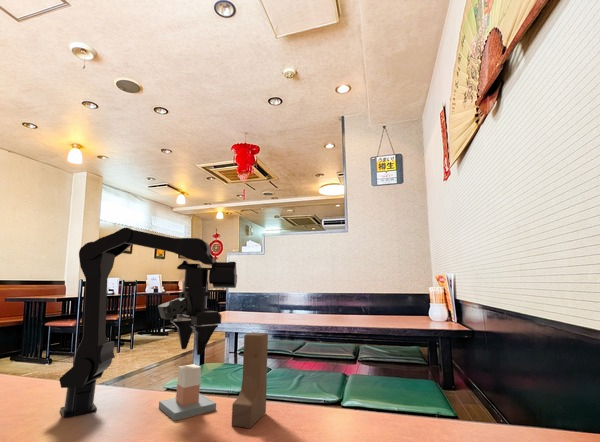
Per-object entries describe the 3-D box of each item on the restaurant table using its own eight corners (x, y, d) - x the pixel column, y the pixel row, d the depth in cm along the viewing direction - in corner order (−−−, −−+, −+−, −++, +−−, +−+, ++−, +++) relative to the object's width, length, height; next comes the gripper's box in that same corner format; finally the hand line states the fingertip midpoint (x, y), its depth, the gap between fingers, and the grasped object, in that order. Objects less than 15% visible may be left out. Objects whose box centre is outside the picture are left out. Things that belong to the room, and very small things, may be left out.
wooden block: (250, 429, 68) (253, 338, 71) (230, 426, 69) (234, 337, 73) (266, 413, 76) (268, 332, 80) (248, 411, 78) (251, 332, 81)
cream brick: (177, 384, 80) (178, 366, 81) (192, 381, 83) (194, 364, 83) (184, 387, 77) (185, 369, 78) (200, 384, 80) (201, 367, 80)
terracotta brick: (175, 401, 79) (177, 383, 80) (191, 397, 82) (192, 380, 83) (182, 406, 76) (183, 387, 77) (198, 402, 79) (199, 384, 80)
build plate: (158, 407, 79) (159, 401, 79) (197, 398, 86) (198, 392, 86) (174, 420, 72) (174, 413, 72) (215, 409, 78) (216, 403, 79)
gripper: (151, 287, 86) (145, 350, 83) (178, 288, 72) (172, 363, 69) (192, 287, 93) (187, 345, 90) (224, 288, 79) (220, 356, 76)
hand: (191, 351), depth 81 cm, fingers open, 9 cm apart
